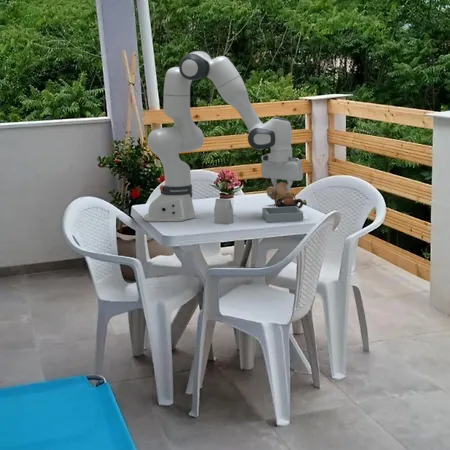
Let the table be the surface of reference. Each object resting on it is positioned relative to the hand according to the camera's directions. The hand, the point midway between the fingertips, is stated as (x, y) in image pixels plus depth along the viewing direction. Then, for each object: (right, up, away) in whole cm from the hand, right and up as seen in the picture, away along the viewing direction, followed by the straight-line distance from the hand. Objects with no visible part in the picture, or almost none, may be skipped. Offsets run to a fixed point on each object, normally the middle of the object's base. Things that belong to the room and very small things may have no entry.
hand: (282, 189), depth 325 cm
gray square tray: (0, -12, +3) cm, 12 cm away
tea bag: (-24, -14, -2) cm, 28 cm away
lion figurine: (+2, -6, +32) cm, 33 cm away
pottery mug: (+4, -10, +15) cm, 18 cm away
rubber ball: (0, -2, 0) cm, 2 cm away
